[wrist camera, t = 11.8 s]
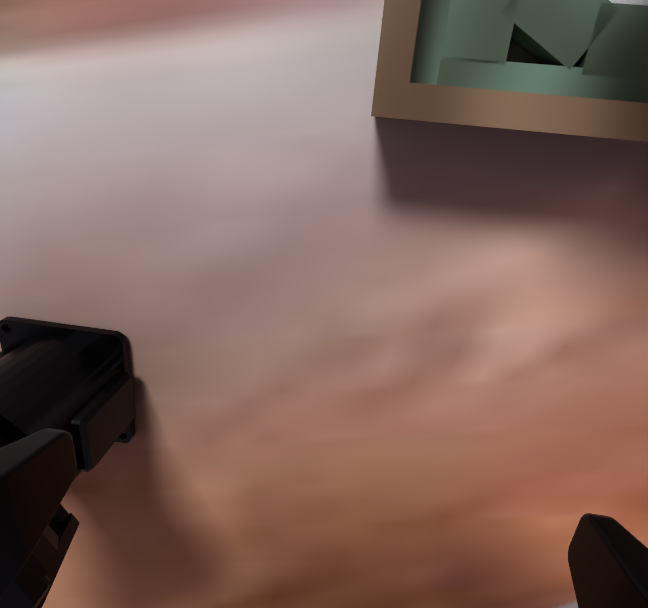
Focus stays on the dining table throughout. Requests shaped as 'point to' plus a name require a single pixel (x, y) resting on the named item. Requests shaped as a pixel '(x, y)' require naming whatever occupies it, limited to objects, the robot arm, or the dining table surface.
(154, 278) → the dining table surface
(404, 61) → the caddy
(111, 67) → the dining table surface
